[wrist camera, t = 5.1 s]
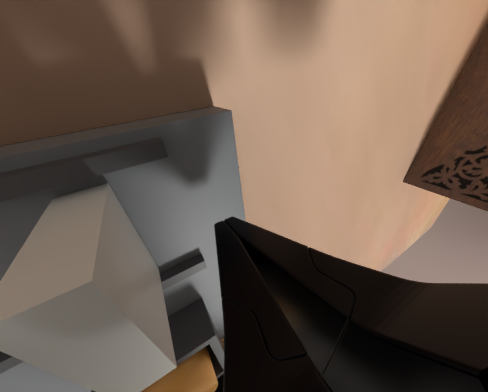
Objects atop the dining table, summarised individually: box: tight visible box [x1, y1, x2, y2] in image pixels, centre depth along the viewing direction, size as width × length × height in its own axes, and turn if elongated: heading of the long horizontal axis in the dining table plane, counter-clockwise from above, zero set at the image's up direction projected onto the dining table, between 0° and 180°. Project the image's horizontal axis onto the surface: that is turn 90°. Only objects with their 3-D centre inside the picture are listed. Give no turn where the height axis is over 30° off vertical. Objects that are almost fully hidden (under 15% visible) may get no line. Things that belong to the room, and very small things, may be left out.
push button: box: [141, 346, 218, 392], centre depth 12 cm, size 4×4×3 cm
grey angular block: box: [0, 183, 177, 392], centre depth 6 cm, size 5×2×4 cm, turn 8°
